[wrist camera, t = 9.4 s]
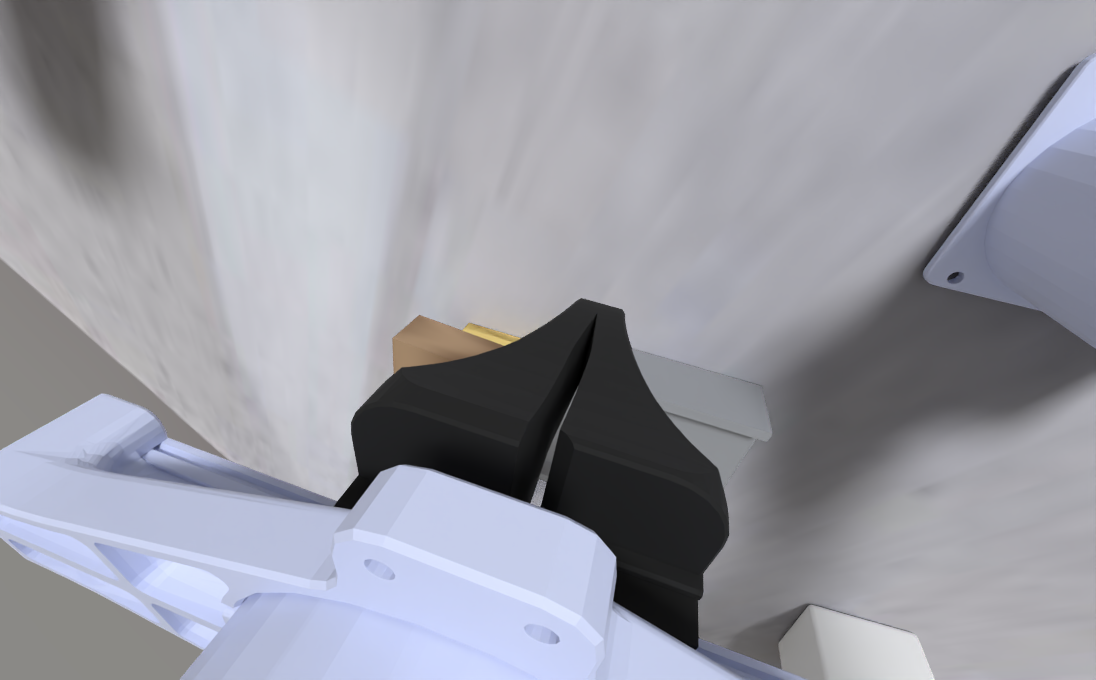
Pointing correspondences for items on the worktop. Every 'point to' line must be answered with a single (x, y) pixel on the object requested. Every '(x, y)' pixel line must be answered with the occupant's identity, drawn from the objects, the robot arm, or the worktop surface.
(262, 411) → the worktop surface
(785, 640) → the medicine bottle
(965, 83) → the worktop surface
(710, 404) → the grey piece
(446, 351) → the cover
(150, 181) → the worktop surface
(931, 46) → the worktop surface
